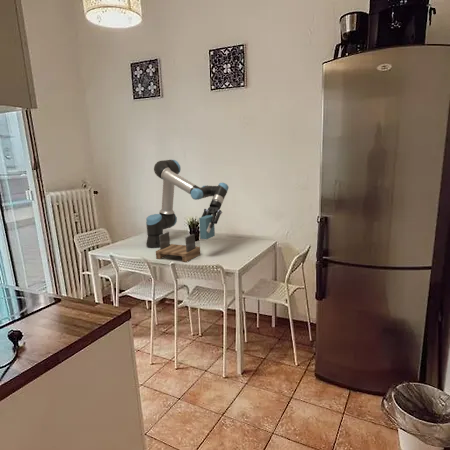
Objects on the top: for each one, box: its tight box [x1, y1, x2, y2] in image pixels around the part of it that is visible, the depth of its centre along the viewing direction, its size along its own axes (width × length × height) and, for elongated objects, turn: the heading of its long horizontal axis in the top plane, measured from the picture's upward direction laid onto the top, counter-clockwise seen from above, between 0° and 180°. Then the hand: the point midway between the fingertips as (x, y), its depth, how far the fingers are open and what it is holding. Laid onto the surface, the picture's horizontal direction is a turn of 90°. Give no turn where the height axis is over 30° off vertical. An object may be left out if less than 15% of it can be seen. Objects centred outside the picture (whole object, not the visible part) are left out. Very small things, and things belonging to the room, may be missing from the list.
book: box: [198, 215, 216, 240], centre depth 240 cm, size 5×10×14 cm, turn 149°
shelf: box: [155, 231, 201, 263], centre depth 244 cm, size 24×18×16 cm
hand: (204, 231), depth 237 cm, fingers closed on book, 5 cm apart
